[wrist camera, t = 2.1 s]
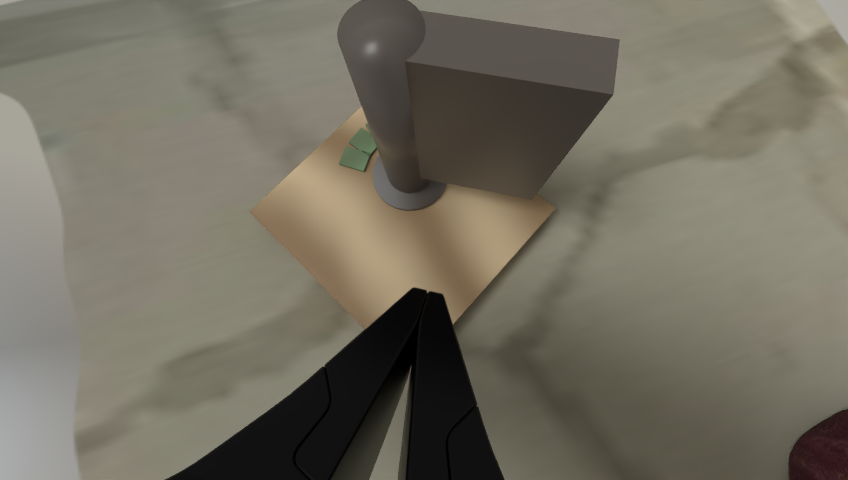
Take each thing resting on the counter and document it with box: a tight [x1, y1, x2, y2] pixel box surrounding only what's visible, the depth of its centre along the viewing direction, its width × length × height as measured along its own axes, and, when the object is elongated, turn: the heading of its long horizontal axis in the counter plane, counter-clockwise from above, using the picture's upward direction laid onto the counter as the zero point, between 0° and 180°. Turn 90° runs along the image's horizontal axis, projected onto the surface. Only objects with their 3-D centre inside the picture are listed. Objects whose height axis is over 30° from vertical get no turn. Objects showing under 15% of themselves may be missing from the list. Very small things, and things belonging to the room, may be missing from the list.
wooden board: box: [250, 107, 556, 374], centre depth 19 cm, size 12×13×2 cm
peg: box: [337, 0, 620, 200], centre depth 14 cm, size 6×8×10 cm
